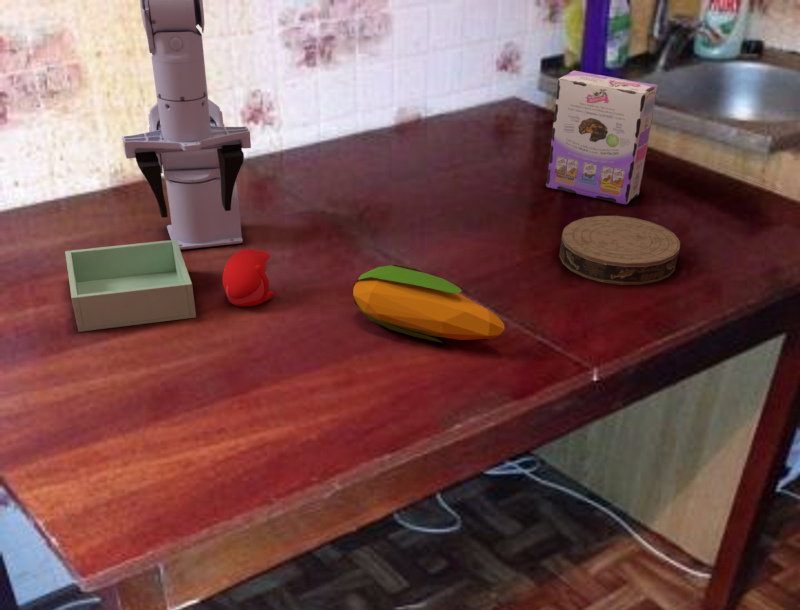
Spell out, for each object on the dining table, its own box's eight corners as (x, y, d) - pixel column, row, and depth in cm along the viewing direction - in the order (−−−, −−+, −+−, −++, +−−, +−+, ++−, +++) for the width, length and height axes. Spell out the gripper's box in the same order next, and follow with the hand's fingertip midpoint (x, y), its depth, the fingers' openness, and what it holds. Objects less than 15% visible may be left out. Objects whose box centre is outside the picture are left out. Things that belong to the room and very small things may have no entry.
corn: (371, 243, 119) (522, 281, 112) (373, 299, 124) (517, 339, 117) (338, 269, 114) (494, 311, 107) (342, 327, 120) (490, 370, 112)
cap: (265, 315, 121) (262, 270, 117) (218, 311, 121) (213, 265, 118) (281, 286, 127) (279, 242, 123) (236, 282, 127) (232, 238, 124)
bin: (180, 271, 130) (176, 239, 127) (196, 317, 120) (192, 283, 117) (71, 283, 126) (64, 250, 123) (78, 332, 117) (71, 297, 114)
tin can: (584, 289, 128) (587, 267, 126) (543, 240, 140) (545, 219, 138) (696, 279, 131) (701, 258, 129) (646, 232, 143) (650, 212, 141)
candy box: (640, 195, 154) (660, 83, 144) (625, 206, 150) (645, 93, 140) (560, 176, 160) (574, 67, 149) (544, 187, 156) (557, 76, 145)
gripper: (120, 109, 107) (139, 230, 116) (252, 99, 110) (260, 217, 119) (113, 90, 112) (132, 207, 121) (240, 82, 116) (249, 196, 124)
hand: (195, 211), depth 120 cm, fingers open, 7 cm apart
